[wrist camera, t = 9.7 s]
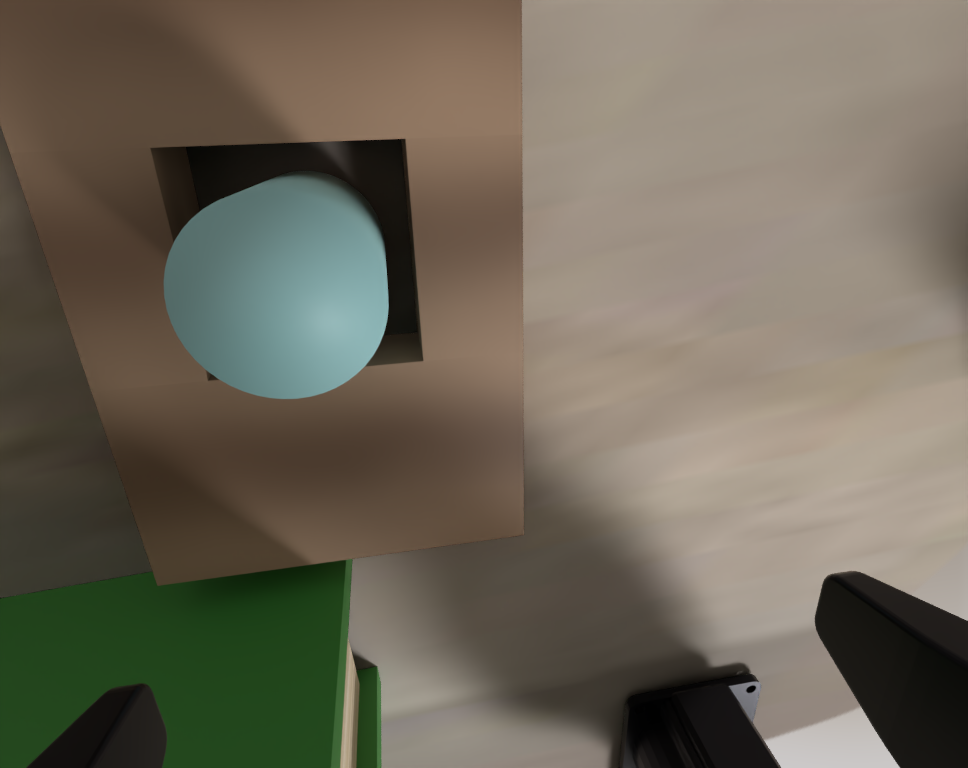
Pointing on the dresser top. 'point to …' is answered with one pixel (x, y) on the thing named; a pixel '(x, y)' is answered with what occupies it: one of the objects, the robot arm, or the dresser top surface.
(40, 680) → the hardback book
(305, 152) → the dresser top surface
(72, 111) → the rail
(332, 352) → the teal peg
